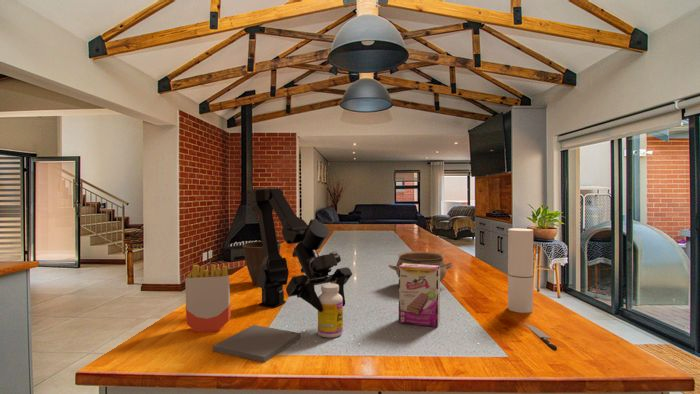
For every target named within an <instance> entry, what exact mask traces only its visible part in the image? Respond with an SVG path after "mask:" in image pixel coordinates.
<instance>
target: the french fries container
mask: <svg viewBox="0 0 700 394" xmlns="http://www.w3.org/2000/svg"><path fill="white" fill-rule="evenodd" d="M210 267H211V268H210V274H209V269H205V264H201V266H200V265H199V264H193V265H192V272H191V271H190V272H189V273H188V274H187V276H186V277H185V285H184V286H185V318H186V319H185V323H186V325H187V326H188V327H190V328H191V329H192V330H193V331H195V332H196V333H206V332H207V333H208V332H210V333H211V332H220V330H221V329H222V328H223V327H224V326H225V325H227V323H228V322H229V321H230V319H231V316H232V315H231V293H230V292H231V291H230V288H231V287H230V275H229V273H228V265H223V266H222V269H221V267H216V264H211V265H210Z"/></svg>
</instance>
